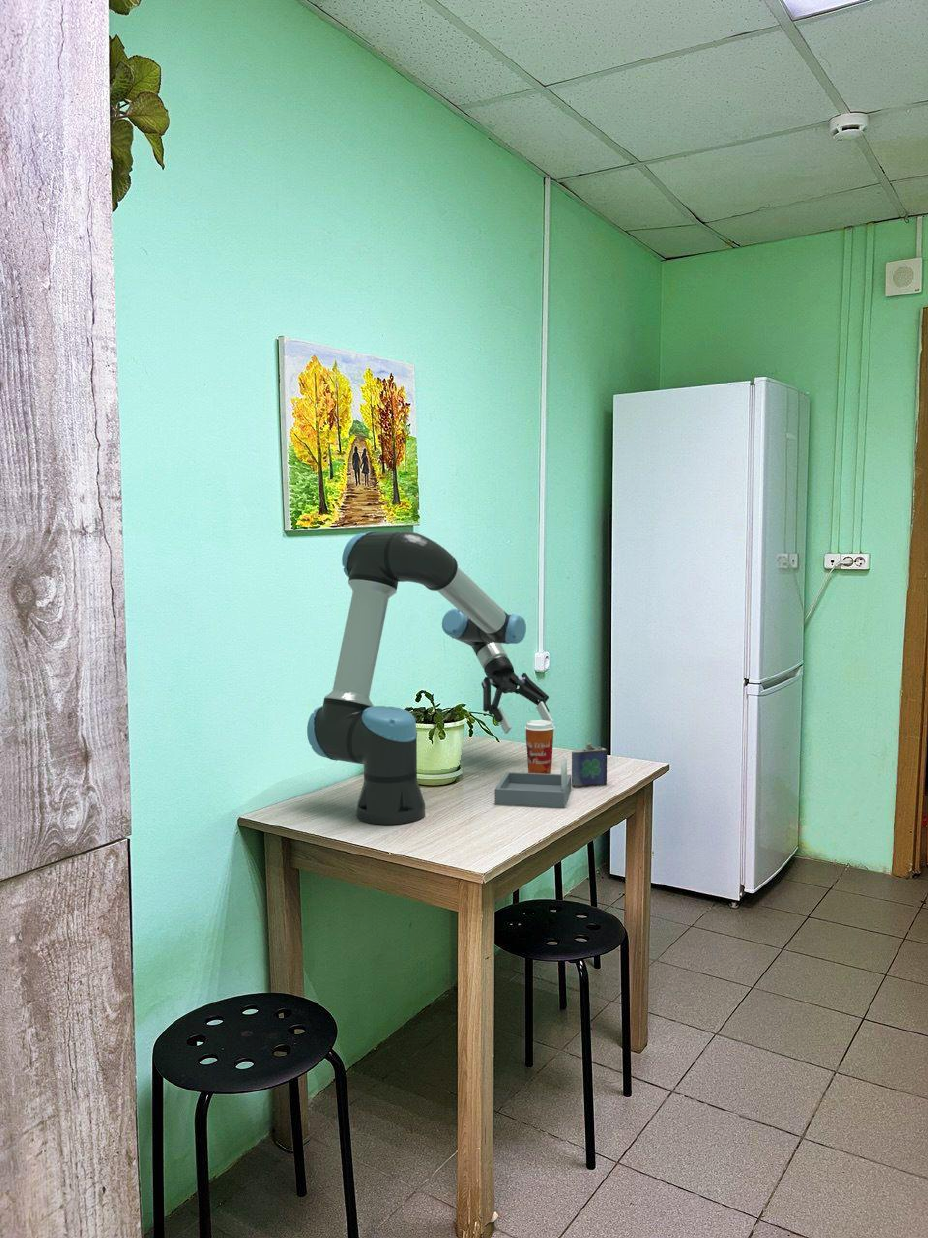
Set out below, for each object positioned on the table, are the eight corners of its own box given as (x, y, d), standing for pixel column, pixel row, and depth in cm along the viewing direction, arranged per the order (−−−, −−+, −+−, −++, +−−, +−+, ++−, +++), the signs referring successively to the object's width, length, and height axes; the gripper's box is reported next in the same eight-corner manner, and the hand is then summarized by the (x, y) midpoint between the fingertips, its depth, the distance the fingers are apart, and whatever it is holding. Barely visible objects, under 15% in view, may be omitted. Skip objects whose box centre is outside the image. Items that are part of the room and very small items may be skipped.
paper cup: (521, 779, 230) (521, 724, 229) (528, 772, 238) (527, 718, 237) (551, 781, 228) (551, 726, 227) (557, 774, 235) (557, 720, 234)
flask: (573, 788, 222) (573, 745, 221) (569, 785, 225) (569, 742, 224) (609, 785, 224) (609, 742, 223) (604, 782, 227) (604, 740, 226)
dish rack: (494, 804, 209) (494, 761, 208) (506, 785, 225) (505, 745, 224) (564, 808, 206) (564, 764, 205) (571, 788, 221) (571, 748, 220)
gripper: (526, 668, 258) (560, 729, 247) (452, 676, 244) (484, 742, 233) (538, 651, 253) (573, 713, 242) (462, 658, 239) (496, 725, 228)
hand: (529, 727), depth 237 cm, fingers open, 13 cm apart
